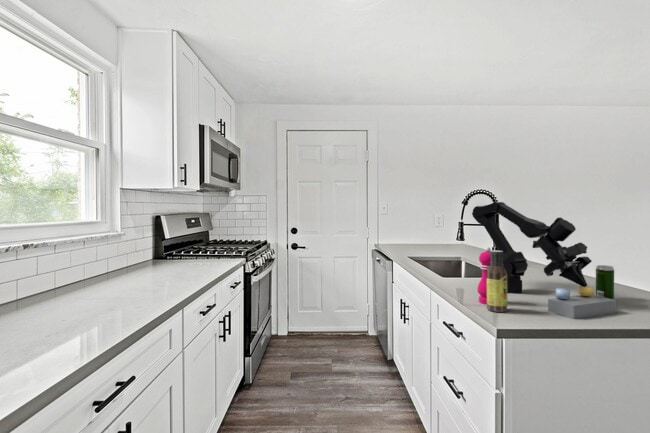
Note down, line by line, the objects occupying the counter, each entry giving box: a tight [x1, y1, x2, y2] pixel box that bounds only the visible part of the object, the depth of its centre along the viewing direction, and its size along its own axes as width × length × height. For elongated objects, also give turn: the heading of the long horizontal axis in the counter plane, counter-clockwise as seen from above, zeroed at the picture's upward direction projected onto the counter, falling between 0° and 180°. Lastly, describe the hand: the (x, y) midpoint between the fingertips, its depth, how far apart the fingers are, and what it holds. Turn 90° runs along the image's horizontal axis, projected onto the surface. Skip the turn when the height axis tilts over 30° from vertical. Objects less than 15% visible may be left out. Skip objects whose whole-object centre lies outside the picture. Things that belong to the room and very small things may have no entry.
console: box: [547, 294, 617, 320], centre depth 123 cm, size 18×9×4 cm, turn 108°
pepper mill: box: [477, 246, 491, 305], centre depth 136 cm, size 7×7×20 cm
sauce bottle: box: [486, 249, 508, 313], centre depth 126 cm, size 6×6×20 cm
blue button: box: [555, 287, 571, 300], centre depth 123 cm, size 4×4×6 cm
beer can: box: [595, 264, 615, 300], centre depth 137 cm, size 5×5×12 cm
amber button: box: [578, 285, 594, 298], centre depth 126 cm, size 4×4×6 cm
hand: (585, 286), depth 126 cm, fingers closed, pressing on amber button
